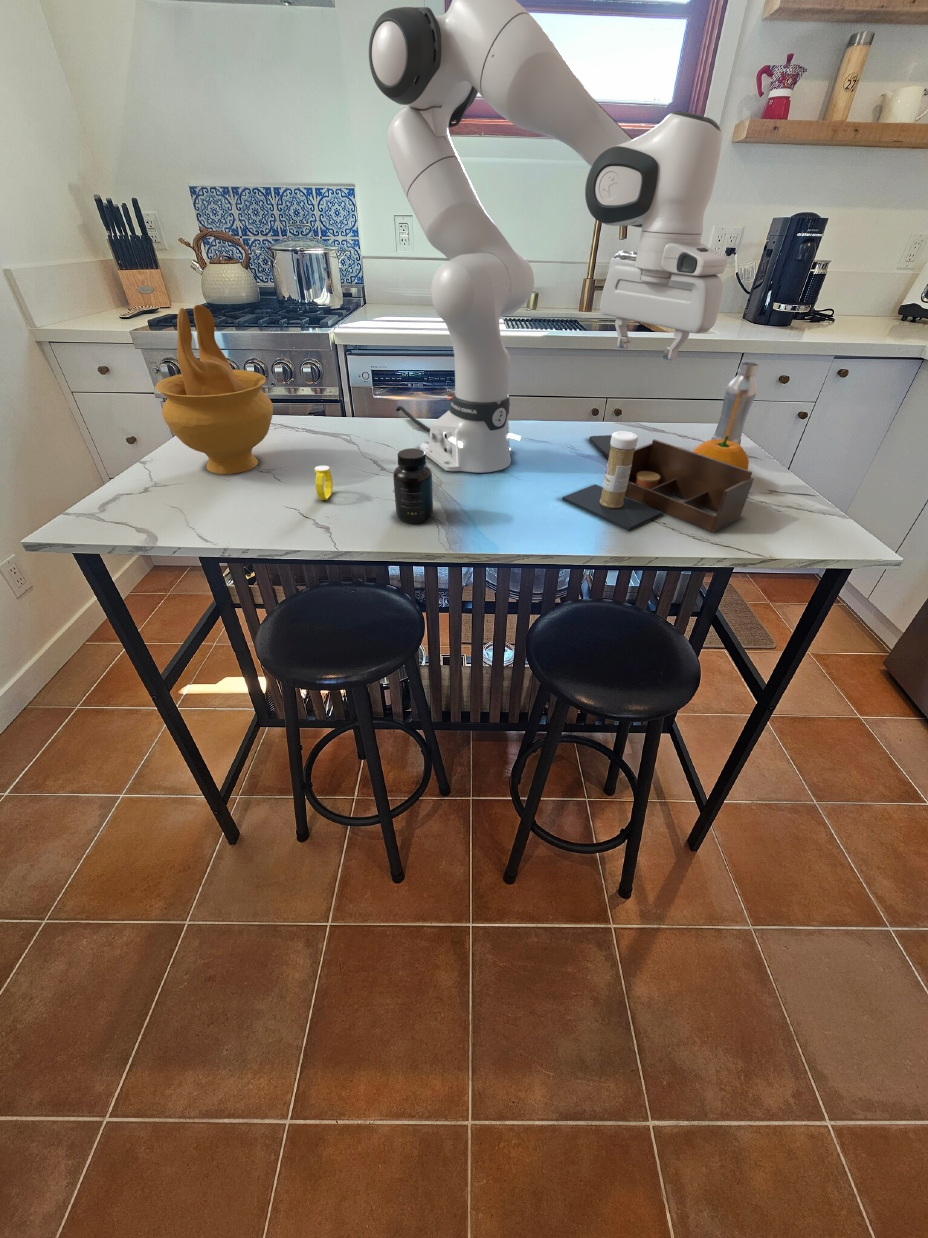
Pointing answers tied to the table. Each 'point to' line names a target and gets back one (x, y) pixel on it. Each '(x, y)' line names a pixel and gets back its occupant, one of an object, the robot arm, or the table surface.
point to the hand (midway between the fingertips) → (645, 353)
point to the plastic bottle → (737, 403)
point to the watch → (321, 474)
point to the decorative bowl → (214, 400)
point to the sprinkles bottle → (618, 469)
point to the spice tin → (647, 479)
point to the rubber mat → (624, 516)
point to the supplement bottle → (413, 487)
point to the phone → (602, 443)
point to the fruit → (724, 452)
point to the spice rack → (690, 485)
